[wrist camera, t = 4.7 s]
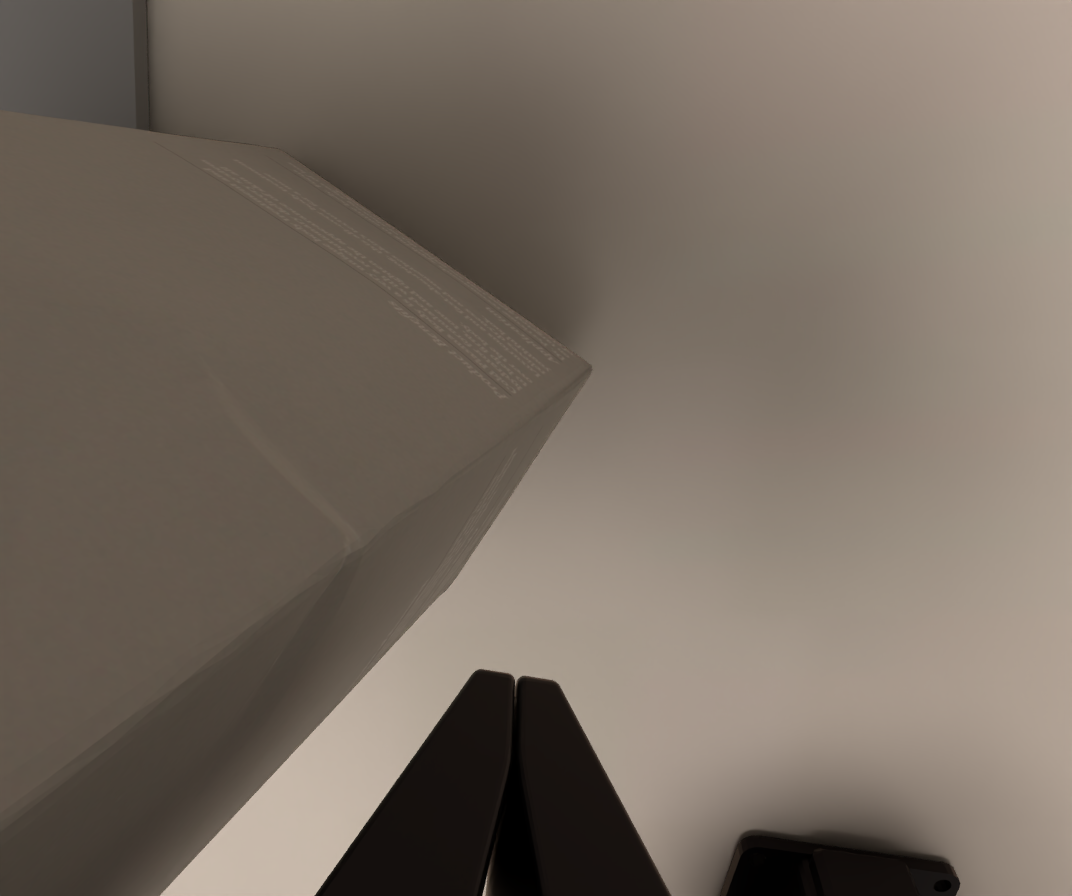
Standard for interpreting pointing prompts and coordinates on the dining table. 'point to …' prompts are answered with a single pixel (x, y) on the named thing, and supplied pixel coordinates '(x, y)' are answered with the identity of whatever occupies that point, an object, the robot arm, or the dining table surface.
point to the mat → (75, 60)
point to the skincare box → (219, 478)
